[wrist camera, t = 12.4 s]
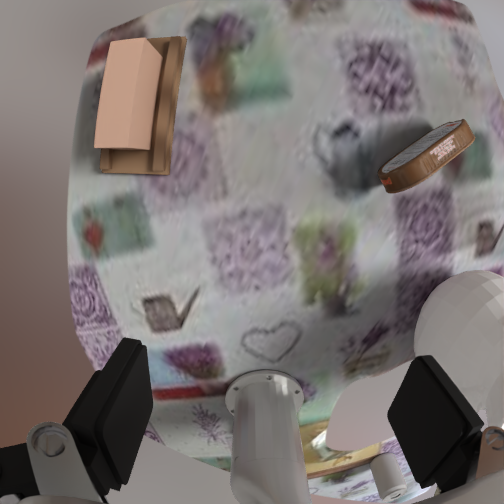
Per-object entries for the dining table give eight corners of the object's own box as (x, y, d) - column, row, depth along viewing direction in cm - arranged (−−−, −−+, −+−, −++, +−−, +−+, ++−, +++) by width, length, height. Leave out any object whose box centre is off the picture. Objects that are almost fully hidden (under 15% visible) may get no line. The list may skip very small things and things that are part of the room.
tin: (376, 192, 35) (408, 200, 27) (364, 171, 34) (394, 174, 26) (450, 138, 33) (487, 137, 25) (440, 118, 32) (477, 113, 24)
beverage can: (373, 468, 53) (385, 504, 42) (365, 460, 52) (377, 499, 40) (396, 456, 52) (411, 492, 41) (389, 447, 51) (405, 486, 39)
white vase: (385, 281, 39) (494, 397, 15) (478, 235, 37) (596, 296, 13) (401, 372, 44) (464, 481, 20) (480, 327, 42) (560, 404, 18)
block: (163, 57, 29) (145, 37, 22) (150, 149, 33) (127, 147, 26) (133, 59, 29) (111, 41, 22) (120, 149, 32) (93, 147, 26)
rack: (169, 174, 34) (164, 175, 32) (105, 172, 34) (97, 173, 32) (186, 39, 29) (183, 32, 27) (122, 44, 29) (116, 38, 27)
